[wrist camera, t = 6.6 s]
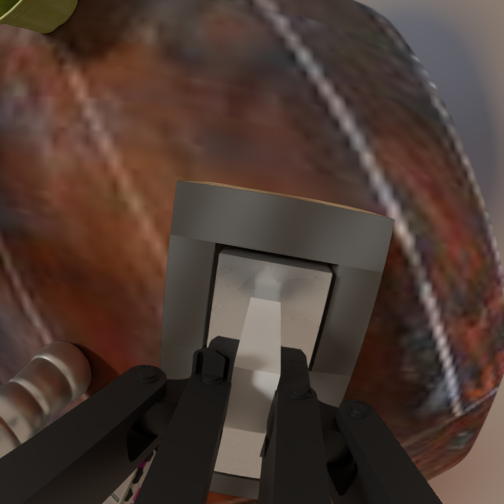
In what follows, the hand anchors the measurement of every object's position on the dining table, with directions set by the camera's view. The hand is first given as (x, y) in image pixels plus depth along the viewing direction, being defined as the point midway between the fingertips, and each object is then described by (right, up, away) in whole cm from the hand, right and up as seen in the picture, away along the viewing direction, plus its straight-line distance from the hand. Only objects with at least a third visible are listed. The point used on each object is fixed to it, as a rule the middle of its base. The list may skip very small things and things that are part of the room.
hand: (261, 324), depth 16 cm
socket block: (0, -4, +11) cm, 12 cm away
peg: (+1, +2, +9) cm, 9 cm away
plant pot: (-22, +30, +6) cm, 37 cm away
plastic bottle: (-20, -8, +14) cm, 25 cm away
